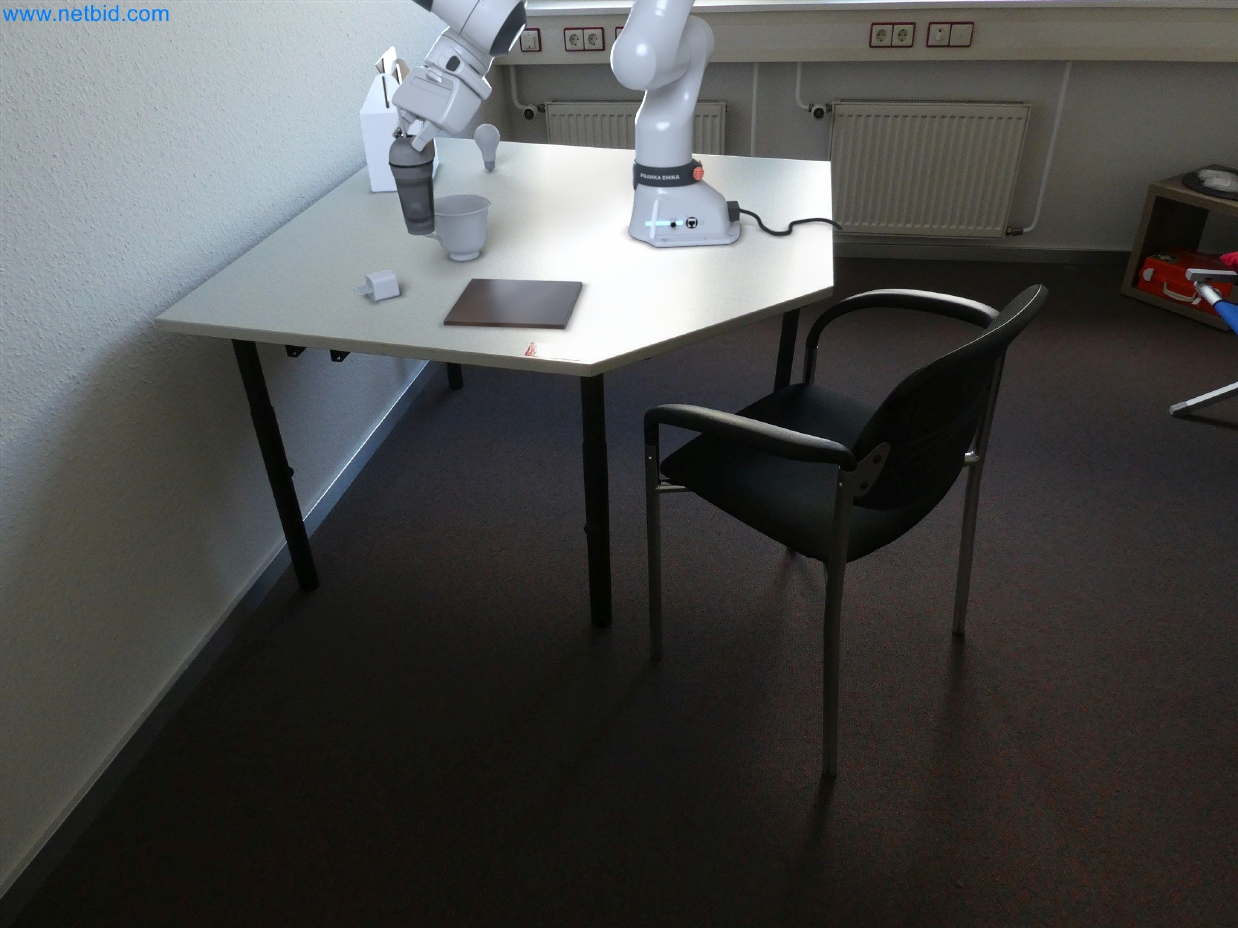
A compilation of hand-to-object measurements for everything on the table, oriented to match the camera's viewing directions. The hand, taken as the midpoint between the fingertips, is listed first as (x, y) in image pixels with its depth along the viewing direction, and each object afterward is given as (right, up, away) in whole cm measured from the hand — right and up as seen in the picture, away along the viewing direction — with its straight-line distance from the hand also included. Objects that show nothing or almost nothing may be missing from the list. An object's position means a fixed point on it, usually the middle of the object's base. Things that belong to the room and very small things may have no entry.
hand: (405, 144), depth 144 cm
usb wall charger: (-8, -22, +14) cm, 27 cm away
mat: (+16, -24, +10) cm, 31 cm away
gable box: (-17, +18, +75) cm, 79 cm away
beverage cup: (+1, -12, +8) cm, 15 cm away
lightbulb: (+2, +21, +78) cm, 81 cm away
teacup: (+3, -11, +30) cm, 32 cm away
